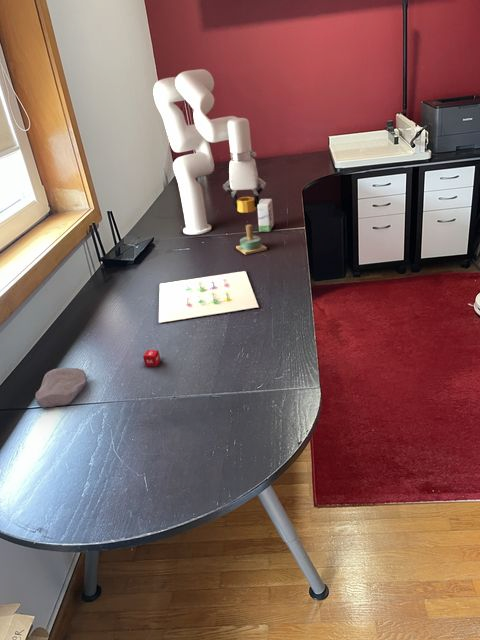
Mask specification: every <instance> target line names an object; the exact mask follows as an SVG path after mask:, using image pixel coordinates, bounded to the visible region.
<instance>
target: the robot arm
mask: <svg viewBox="0 0 480 640" xmlns="http://www.w3.org/2000/svg"><path fill="white" fill-rule="evenodd" d="M153 85H154V86H153V88H152V89H153V91H152V93H153V100H154V103H155V106H156V108H157V110H158V112H159V113H160V116H161V118H162V120H163V124H164V128H165V131H166V135H167V138H168V143H169V145H170V147H171V150H172V151H173V152H174V153H179V154H180V153H186V152H189V151H194V153H189V154H184V155H181V156H178V157H177V158H176V159H175V160H174V161H173V163H172V169H173V173H174V176H175V179H176V182H177V184H178V185H177V186H178V190H179V195H180V201H181V206H182V212H183V219H184V224H185V227H184V228H183V229H182V232H183V234H184V235H189V236H195V235H196V236H198V235H203V234H206V233H208V232H210V231H211V230H212V228H213V227H212V225H211V224H209V223H208V221H207V219H208V218H207V213H206V206H205V200H204V192H203V188H202V185H200V183H199V182H198V181H197V180H196V179H198V178H201V177H205V176H208V175H211V174H212V173H213V172H214V170H215V162H214V157H213V154H212V150H211V146H210V143H212V144H213V143H214V144H215V143H220V142H225V141H228V143H229V152H230V161H229V168H228V170H229V171H228V173H229V178H228V180H227V181H226V182H225V183H224V184H223V185H222V189H223V190H224V191H225V192H227V194H229V195H230V197H231V198H232V204H233V206H234V208H235V209H237V201H236V200H237V199H238V195H237V191H245V190H252V192H253V194H254V196H253V197H254V202H255V207H256V208H257V206H258V204H259V201H260V196H259V195H260V194H261V193H262V192H263V190H264V189H265V188H266V186H267V183H266V182H265V181H264V180H263V179H261V178H260V177H259V175H258V173H259V172H258V167H257V162H256V160H255V159H256V158H254V157H257V152H256V151H253V150H252V140H251V130H250V129H251V128H250V121H249V119H247V118H245V117H237V116H235V115H229V116H222V117H217V118H211V119H210V118H209V117H208V116H207V114H208V113H210V111H211V110H212V109H213V107H214V105H215V97H214V94H213V93H212V92H213V91H214V87H215V81H214V77H213V75H212V74H211V72H209V70H206V69H204V68H200V69H191V70H185V71H182V72H179V74H177V76H172V77H166V78H165V77H164V78H161V79H159V80H157V81H156V82H155V83H154V84H153ZM184 101H186V103H188V105H189V106H190V107H191V109H193V123H194V124H187V122H186V119H185V115H184V112H183V111H182V110H181V109H180V108H179V106H178V105H177V104H176V103H177V102H184ZM259 184H260V187H259V188H258V186H259ZM229 186H230V187H229Z"/></svg>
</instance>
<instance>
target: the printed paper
mask: <svg viewBox="0 0 480 640" xmlns="http://www.w3.org/2000/svg"><path fill="white" fill-rule="evenodd" d="M158 299H159V300H158V323H159V324H161V323H167V322H173V321H180V320H186V319H192V318H198V317H199V318H200V317H204V316H212V315H217V314H225V313H231V312H238V311H242V310H250V309H255V308H259V304H258V301H257V299H256V295H255V292H254V291H253V288H252V285H251V282H250V279H249V277H248V274H247V271H246V270H242V271H237V272H236V271H235V272H230V273H223V274H217V275H216V274H215V275H209V276H203V277H197V278H189V279H182V280H176V281H170V282H169V281H168V282H162V283H159V297H158Z"/></svg>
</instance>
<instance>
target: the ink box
mask: <svg viewBox="0 0 480 640" xmlns="http://www.w3.org/2000/svg"><path fill="white" fill-rule="evenodd" d="M256 209H257V221H258V231H259V233H261V232H271V230H272V229H273V227H274V226H275V225H274V206H273V199H272V198H260V199H259V204H258V206H257V207H256Z"/></svg>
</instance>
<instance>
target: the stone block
mask: <svg viewBox="0 0 480 640" xmlns="http://www.w3.org/2000/svg"><path fill="white" fill-rule="evenodd" d="M86 385H87V374H86V371H85V370H83V369H81V368H79V367H76V368H75V367H63V368H62V367H59V368H54V369H51V370H49V371H47V372H46V373H45V375H44V376H43V378H42V382H41V386H40V388H39V389H38V390H37V391H36V392H35V399H36V403H37V405H38V406H39V407H40V408H42V409H45V408H54V407H58V406H59V407H60V406H68V405H69V404H71V403H72V402H73V401H74V399H75V398H76V397H77V396H78V395H79V394H80V393H81V392H82V391H83V389H84V388H85V387H86Z"/></svg>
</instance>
